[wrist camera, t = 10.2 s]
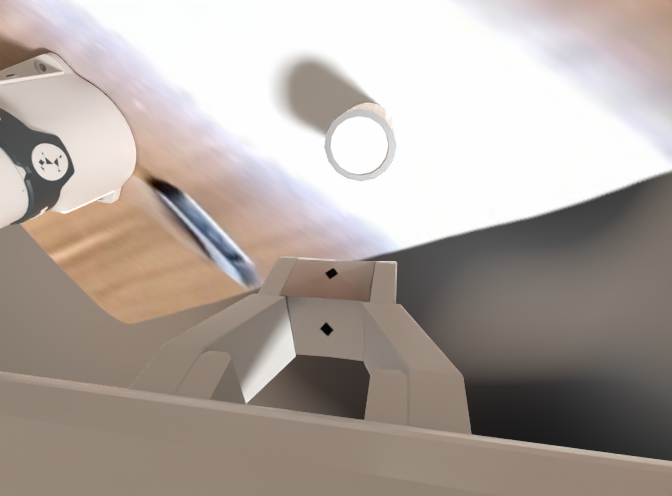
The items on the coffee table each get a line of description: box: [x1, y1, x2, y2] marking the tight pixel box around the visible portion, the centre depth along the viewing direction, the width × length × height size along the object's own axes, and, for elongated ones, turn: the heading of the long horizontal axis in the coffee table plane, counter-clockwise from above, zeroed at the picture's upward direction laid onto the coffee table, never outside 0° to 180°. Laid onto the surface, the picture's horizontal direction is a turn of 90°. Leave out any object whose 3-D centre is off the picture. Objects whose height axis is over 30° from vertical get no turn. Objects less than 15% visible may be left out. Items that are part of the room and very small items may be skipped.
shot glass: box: [325, 102, 396, 181], centre depth 36 cm, size 7×7×7 cm
